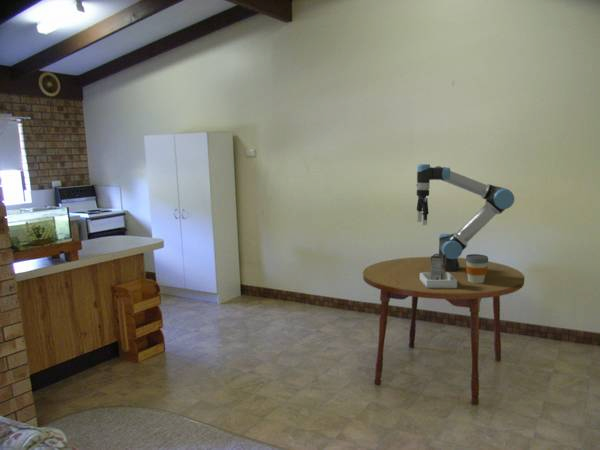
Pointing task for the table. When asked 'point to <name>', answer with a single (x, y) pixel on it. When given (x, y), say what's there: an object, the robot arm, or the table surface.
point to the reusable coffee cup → (476, 267)
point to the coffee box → (438, 267)
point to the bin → (438, 281)
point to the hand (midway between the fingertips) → (422, 223)
